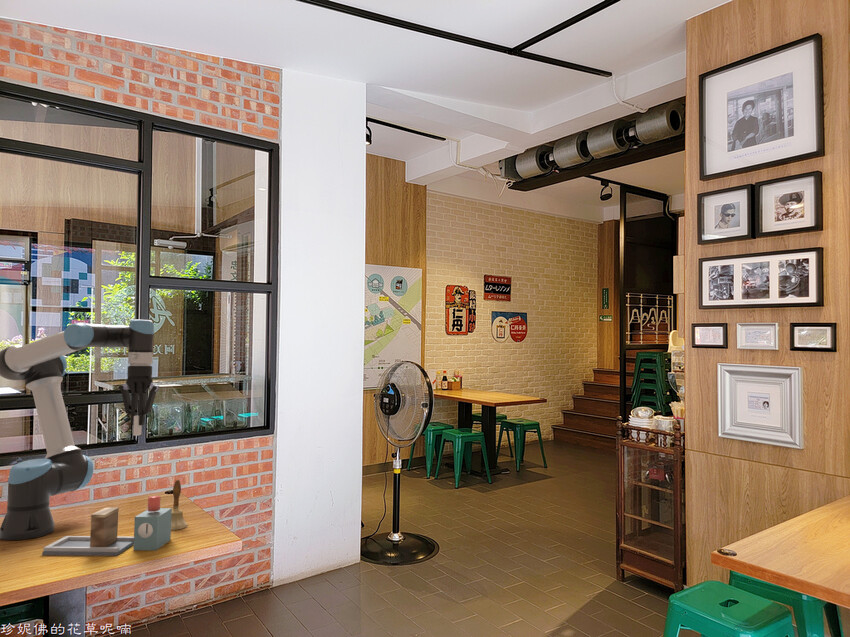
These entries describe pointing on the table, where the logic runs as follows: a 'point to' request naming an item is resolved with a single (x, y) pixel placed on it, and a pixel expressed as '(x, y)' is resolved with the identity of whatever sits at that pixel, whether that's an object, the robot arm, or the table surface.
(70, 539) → the track
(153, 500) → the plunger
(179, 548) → the table surface
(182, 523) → the hand bell
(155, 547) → the cabinet
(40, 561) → the table surface
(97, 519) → the tan rectangular block
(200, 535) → the table surface
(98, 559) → the table surface
